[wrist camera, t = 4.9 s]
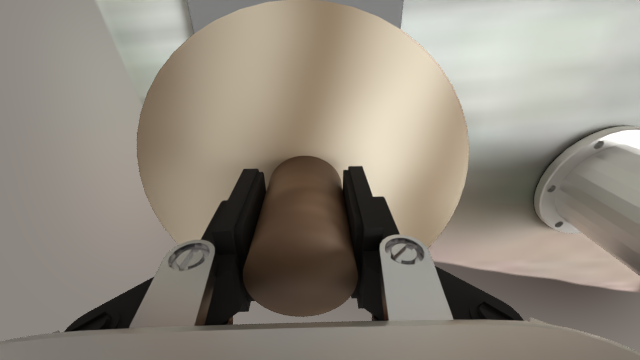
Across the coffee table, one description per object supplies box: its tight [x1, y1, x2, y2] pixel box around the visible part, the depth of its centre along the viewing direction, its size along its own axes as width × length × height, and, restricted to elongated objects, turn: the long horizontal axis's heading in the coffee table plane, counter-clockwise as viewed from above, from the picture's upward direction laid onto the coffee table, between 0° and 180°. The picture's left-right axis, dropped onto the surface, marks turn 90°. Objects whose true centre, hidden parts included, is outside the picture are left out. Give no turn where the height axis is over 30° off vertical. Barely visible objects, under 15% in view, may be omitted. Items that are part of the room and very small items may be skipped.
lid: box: [137, 0, 469, 317], centre depth 10 cm, size 14×14×6 cm
